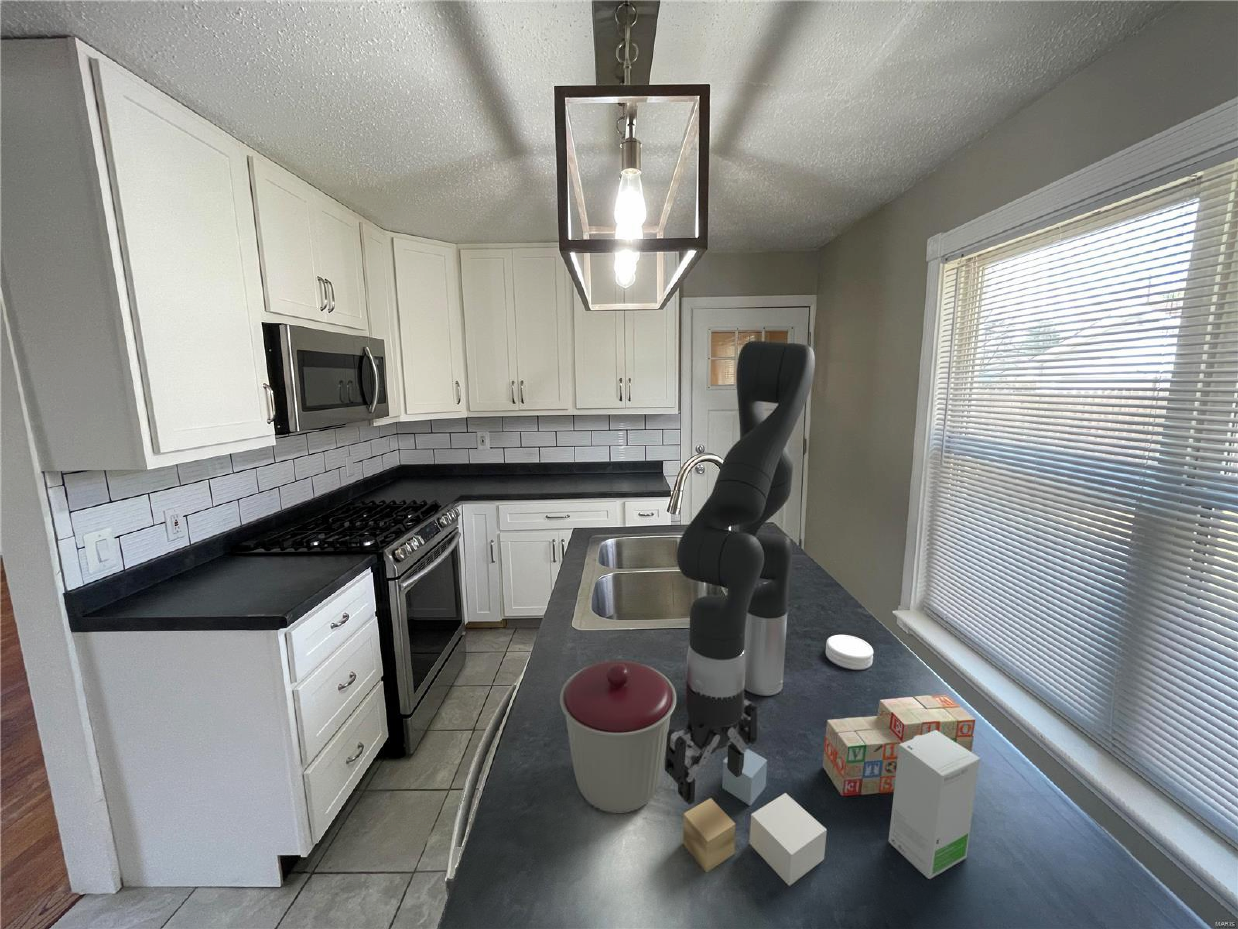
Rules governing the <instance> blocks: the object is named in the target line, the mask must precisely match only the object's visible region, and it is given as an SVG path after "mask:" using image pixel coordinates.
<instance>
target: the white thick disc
mask: <svg viewBox="0 0 1238 929" xmlns="http://www.w3.org/2000/svg"><path fill="white" fill-rule="evenodd" d="M825 645H826V646H825V655H826V657H827V658H828V660H829V661H831V663H834V664H835V665H837V666H839V667H842V668H845V669H848V670H849V669H850V670H861V671H862V670H867V669H868V668H870V667H871V666H872V665H873V662H874V649H873V647H872V645H870V644H869V643H868V642H867V641H865V640H864V639H862V638H859V637H857V636H853V635H848V634H835V635H832V636H830V637H828V638H827V640H826V644H825Z"/></svg>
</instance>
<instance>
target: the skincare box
mask: <svg viewBox="0 0 1238 929" xmlns="http://www.w3.org/2000/svg"><path fill="white" fill-rule="evenodd" d="M980 760H981V757H979V756H977V755H976V754H975V753H973V752H972V751H971V752H970V751H968V750H967V749H965V748H964V747H962V746H960V745H959V744H957V743H955V742H954V741H952V740H951V739H949V738H948V737H946V736H944V735H943V734H941V733H940V732H938V731H937V730H935V731H932V732H930V733H927V734H924V735H917V736H915V737H914V738H913V739H912V740H909V741H907V742H904V743H901V744H899V746H898V759H897V769H896V778H895V787H894V792H893V797H892V798H893V799H892V808H891V817H890V823H889V824H890V825H889V834H888V840H887V841H888V843H889V844H890V845H891V846H892V847H894V848H895V849H896V851H897V852H899V853H900V854H901V855H902V856H903V857H904V858H905V859H906V860H907V861H908V862H909V863H910V864H911V865H912V866H913V867H914V868H916V870H918V871H919V872H920V873H921V874H922V875H923V876H924V877H925V878H927V879H929V880H931V879H933V878H935V877H936V876H938V875H940V874H941V873H943V872H945V871H948V870H949V869H950V868H951V867H953V866H954V865H956V864H958V863H960V862H962V861H964V860H965V859H967V857H968V851H969V850H968V849H969V842H970V835H971V829H972V828H971V826H972V820H973V819H972V818H973V813H974V803H975V796H976V790H977V789H976V788H977V783H978V782H977V781H978V776H979V775H978V774H979V766H980Z"/></svg>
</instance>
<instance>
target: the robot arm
mask: <svg viewBox="0 0 1238 929" xmlns="http://www.w3.org/2000/svg"><path fill="white" fill-rule="evenodd" d="M815 366H816V359H815V352H814V350H813V348H812V347H811V346H809V345H808V344H804V343H803V344H802V343H798V342H797V343H795V342H783V341H782V342H781V341H770V340H769V341H768V340H767V341H766V340H750V341H748V342H746V343H745V344H743V346H742V347H741V350H740V351H739V354H738V359H737V364H736V396H737V397H736V398H737V408H738V410H737V411H738V420H739V421H738V422H739V440H738V441H736V442H735V443H734V445H733V446H732V447H731V448H730V449H729V450H728V451H727V454H726V455H725V457H724V459H723V461H722V463H721V466H720V468H719V472H718V475H717V478H716V480H715V483H714V485H713V489H712V491H711V494H710V496H709V497H708V498H707V500H706V501H705V503H704V504H703V505H702V506H701V508H700V510H699V511H698V513H697V514H696V515H695V517H694V518H693V519H692V521H690V523H689V524H688V525H687V527H686V528H685V530H684V532H683V533H682V535H681V537H680V540H679V542H678V546H677V550H676V561H677V566H678V570H679V571H680V572H681V573H680V574H682V575H683V576H684V577H685V578H687V579H689V580H692V581H695V582H700V583H704V584H708V585H712V586H717V587H721V588H725V589H727V594H725V595H724V594H719V595H716V594H715V595H714V594H713V595H704V596H701V597H698V598H696V600H694V601H693V603H692V604H691V607H690V613H689V634H688V635H689V638H688V649H687V655H686V656H687V657H686V672H685V674H686V675H685V676H686V678H685V679H686V680H685V682H686V683H685V708H686V712H687V715H688V721H687V724H686V725H685V729H682V730H679V731H676V730H675V728H671V729H670V728H669V730H668V733H667V743H666V751H665V758H664V771H665V772H666V773H667V774H668V775H669V776H670V777H671V778H672V779H673V781H674V782H675V783H676V784H677V794H678V795H679V796H680V798H681V799H682V800H683V801H684V802H685V803H687V805H689V806H691V805H692V804H694V803H695V801H696V799H695V798H696V796H695V795H696V778H695V777H696V774H698V773H697V772H699V769H700V767H704V766H706V763H707V761H708V759H709V757H710V755H712V754H714V753H715V752H716V751H717V750H720V749H724V748H726V747H727V757H728V758H727V757H726V758H727V768H728V770H729V771H730V772H731V773H732V774H733V775H734V776H736V777H739V776H741V775H742V770H743V767H744V753H745V752H746V750H747V749H748V745H749V744H750V745H754V744H755V743H756V742H757V740H758V739H757V738H758V717H757V716H758V707H757V706H756V705H755V704H754V703H753V702H751V701H750V700H748V699H747V698H746V697H745V690H746V692H749V693H751V694H755V695H756V696H757V695H758V696H762V697H763V696H767V697H768V696H774V695H777V694H779V693H780V692H781V691H782V689H783V686H784V670H785V669H784V668H785V655H786V654H785V652H786V639H787V625H788V624H787V622H788V606H789V605H788V604H789V602H788V600H789V586H790V579H791V572H792V571H791V570H792V564H793V563H792V562H793V544H792V540H791V538H790V537H789V536H788V535H784V534H778V533H777V534H776V533H774V534H773V533H765V532H758V531H759V530H760V529H761V527H763V525H764V524H765V523H766V522H767V521H768V520H770V519H771V518H772V517H773V516H774V515H775V514H777V512H778V511H780V510H781V509H782V508H783V507H784V505H785V504H786V503H787V502H788V499H789V498H790V496H791V492H792V491H791V490H792V483H793V482H792V481H793V473H794V471H793V469H794V465H793V464H794V463H793V459H792V457H791V455H790V453H789V451H788V449H787V447H786V445H787V443H788V441H789V439H790V437H791V436H792V433H793V431H794V428H795V426H796V425H797V422H798V420H799V418H800V415H801V413H802V410H803V409H804V406H805V404H806V401H807V399H808V397H809V394H810V391H811V388H812V384H813V381H814V377H815V376H814V375H815V370H816V368H815ZM764 403H768V404H769V403H771V404H777V405H776V407H775V408H774V409H773V411H772V412H771V413H770V414H769V415H768V416H767V414H766V412H765V407H764ZM734 526H738V530H737V531H736V530H730V529H728V528H731V527H734ZM759 579H761V580H762V579H763V580H770V581H768V582H766V583H764V584H760V585H757V584H758V582H759ZM736 728H737V730H736ZM728 744H729V745H728ZM694 745H695V747H696V748H697V749H698V750H699V751H700V753H699V754H698V753H697V752H695V750H694V748H693V747H694ZM689 760H691V763H690V765H689V767H688V766H687V763H688V762H689Z"/></svg>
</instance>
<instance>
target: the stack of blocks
mask: <svg viewBox="0 0 1238 929" xmlns="http://www.w3.org/2000/svg"><path fill="white" fill-rule="evenodd" d="M975 725H976V718H975V717H973V716H972V714H970V713H969V712H967V711H966V710H965V709H964V708H963V707H961V706H960V705H959V704H958V703H957V702H955V700H953V699H952V698H951V697H950V696H948V695H947V694H944V695H930V694H928V695H918V696H913V697H912V696H909V697H907V696H906V697H897V698H887V699H879V701H878V712H877V715H874V716H863V717H861V716H859V717H845V718H833V719H827V721H826V730H825V736H824V746H823V761H822V767H823V769H824V770H825V772H826V774H827V776H828V777H829V778H830V780H831V781H832V784H833V785H834V787H835V788H836V789H837V791H838V792H839V794H840V795H841V796H842V797H845V796H846V797H847V796H848V797H849V796H857V795H862V796H863V795H874V794H884V793H894V787H895V778H896V769H897V759H898V746H899V744H901V743H904V742H907V741H909V740H912V739H913V738H914V737H915V736H917V735H924V734H927V733H930V732H932V731H935V730H937V731H938V732H940V733H941V734H943V735H944V736H946V737H948V738H949V739H951V740H952V741H954V742H955V743H957V744H959V745H960V746H962V747H964V748H965V749H967V750H968V751H970V752H972V749H973V744H974V738H975V737H974V731H975Z"/></svg>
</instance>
